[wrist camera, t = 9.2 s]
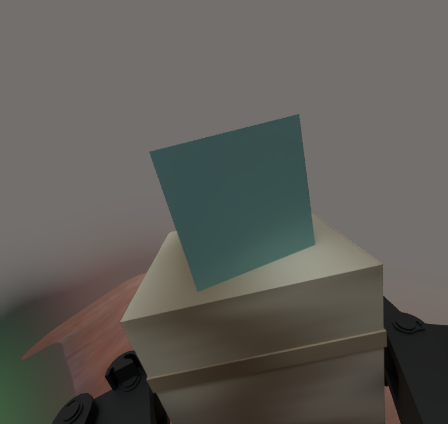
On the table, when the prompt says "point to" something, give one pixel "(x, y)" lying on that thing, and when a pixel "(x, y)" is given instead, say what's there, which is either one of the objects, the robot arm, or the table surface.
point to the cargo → (238, 198)
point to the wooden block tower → (265, 337)
